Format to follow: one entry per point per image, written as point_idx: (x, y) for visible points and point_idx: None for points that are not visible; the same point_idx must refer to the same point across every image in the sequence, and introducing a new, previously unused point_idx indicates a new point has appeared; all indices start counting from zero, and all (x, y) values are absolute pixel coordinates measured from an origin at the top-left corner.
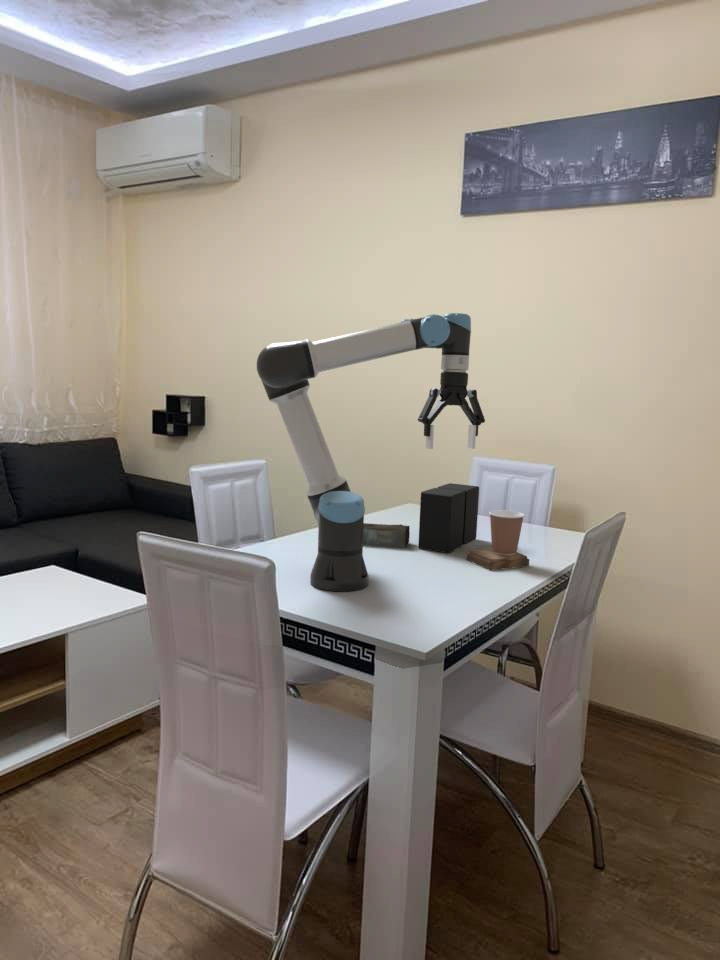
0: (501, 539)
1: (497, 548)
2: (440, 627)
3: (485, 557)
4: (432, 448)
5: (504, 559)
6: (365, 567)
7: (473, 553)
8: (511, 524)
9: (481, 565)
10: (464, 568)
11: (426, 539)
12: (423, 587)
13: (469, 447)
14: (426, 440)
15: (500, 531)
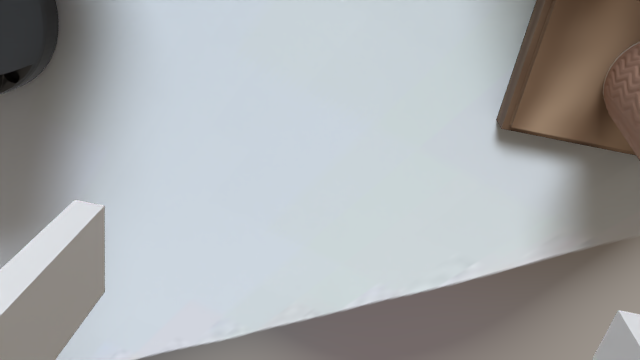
0: (620, 127)
1: (607, 96)
2: (82, 345)
3: (520, 100)
4: (99, 292)
5: (571, 137)
6: (9, 70)
7: (548, 17)
8: None
9: (512, 76)
10: (441, 62)
11: None
12: (189, 152)
13: (603, 345)
14: (27, 256)
15: (627, 137)
